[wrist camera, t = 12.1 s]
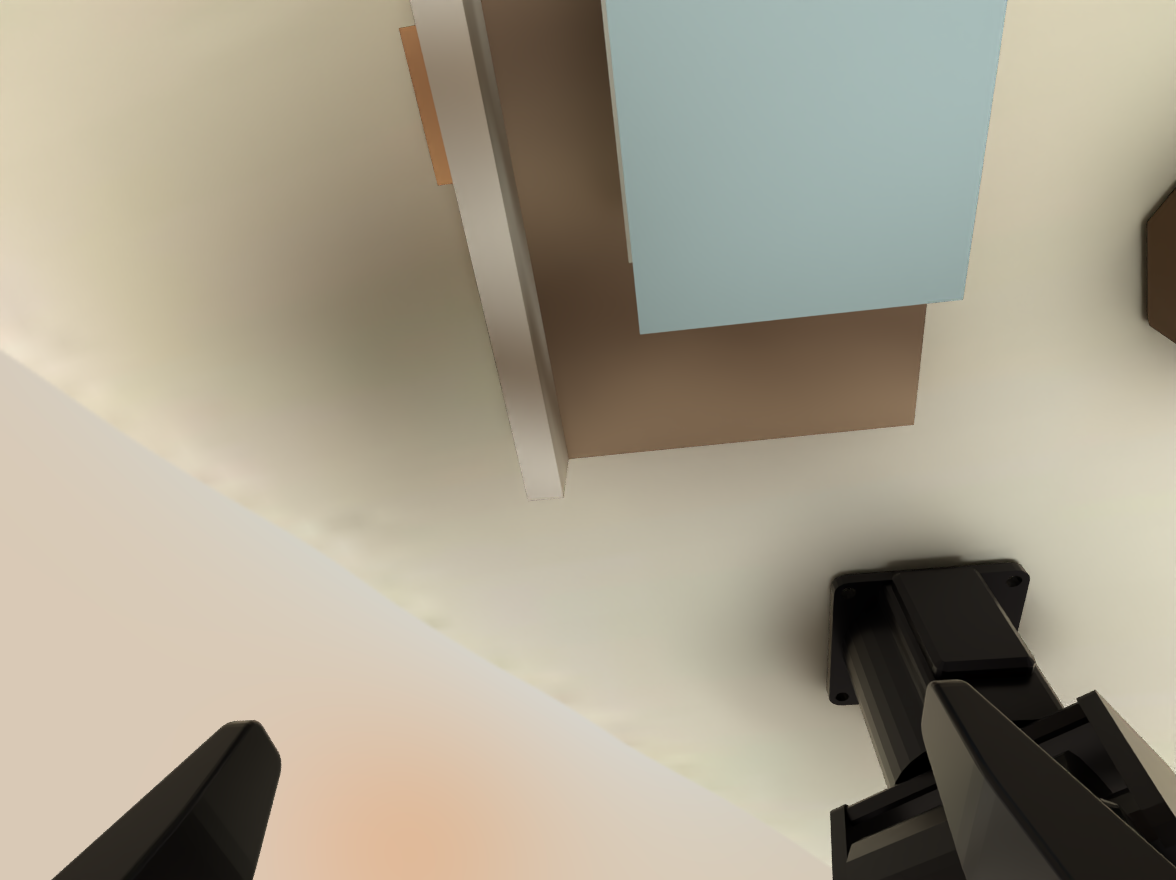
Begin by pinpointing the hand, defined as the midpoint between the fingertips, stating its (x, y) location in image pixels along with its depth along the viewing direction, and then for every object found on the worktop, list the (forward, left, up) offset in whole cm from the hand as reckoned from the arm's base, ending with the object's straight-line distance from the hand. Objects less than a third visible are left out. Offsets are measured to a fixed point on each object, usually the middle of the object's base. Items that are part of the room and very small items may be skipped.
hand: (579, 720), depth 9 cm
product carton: (+7, -4, -12) cm, 14 cm away
